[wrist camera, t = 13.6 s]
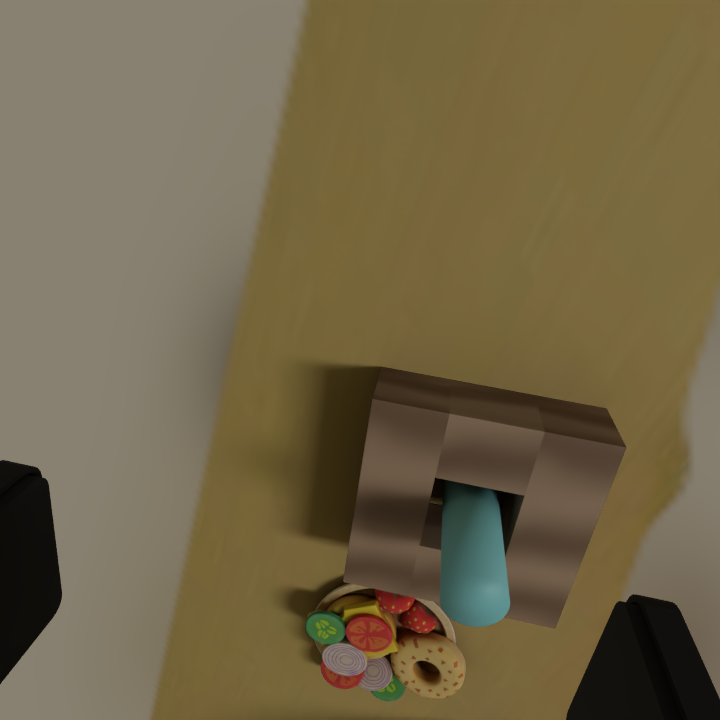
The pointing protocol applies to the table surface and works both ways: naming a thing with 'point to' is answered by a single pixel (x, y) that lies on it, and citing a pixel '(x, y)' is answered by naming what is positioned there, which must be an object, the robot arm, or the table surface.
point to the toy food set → (386, 643)
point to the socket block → (480, 485)
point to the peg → (472, 556)
